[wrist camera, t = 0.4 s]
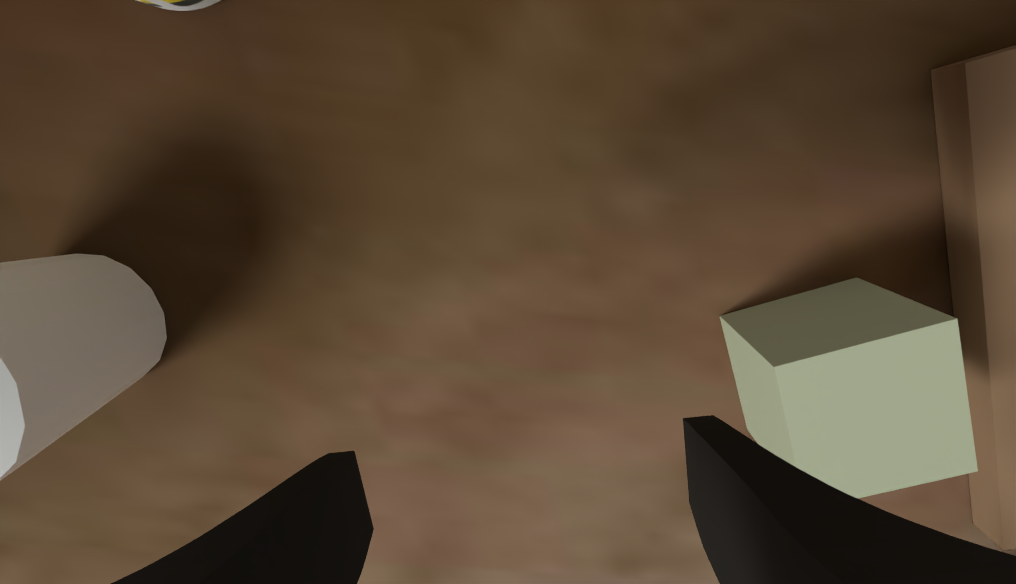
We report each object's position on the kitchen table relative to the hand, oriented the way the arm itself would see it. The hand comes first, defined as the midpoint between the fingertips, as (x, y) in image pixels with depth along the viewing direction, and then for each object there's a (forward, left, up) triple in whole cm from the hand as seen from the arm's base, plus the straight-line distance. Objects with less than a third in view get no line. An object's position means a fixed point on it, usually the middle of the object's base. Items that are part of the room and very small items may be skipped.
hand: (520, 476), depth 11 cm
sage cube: (-9, -5, -10) cm, 14 cm away
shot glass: (+14, +11, -10) cm, 20 cm away
